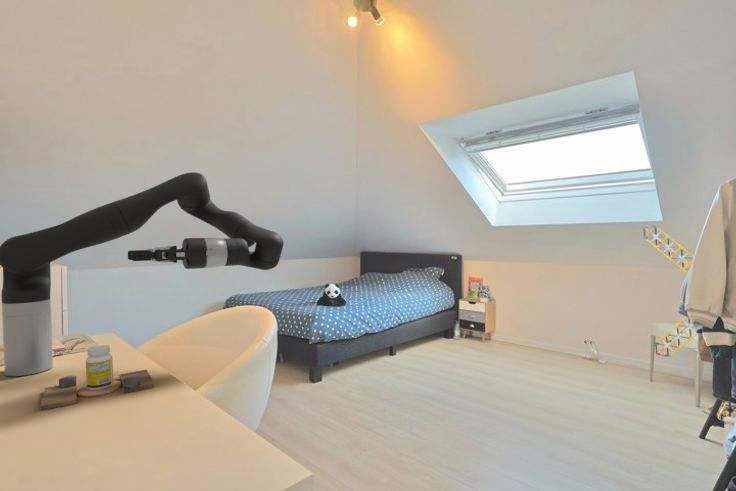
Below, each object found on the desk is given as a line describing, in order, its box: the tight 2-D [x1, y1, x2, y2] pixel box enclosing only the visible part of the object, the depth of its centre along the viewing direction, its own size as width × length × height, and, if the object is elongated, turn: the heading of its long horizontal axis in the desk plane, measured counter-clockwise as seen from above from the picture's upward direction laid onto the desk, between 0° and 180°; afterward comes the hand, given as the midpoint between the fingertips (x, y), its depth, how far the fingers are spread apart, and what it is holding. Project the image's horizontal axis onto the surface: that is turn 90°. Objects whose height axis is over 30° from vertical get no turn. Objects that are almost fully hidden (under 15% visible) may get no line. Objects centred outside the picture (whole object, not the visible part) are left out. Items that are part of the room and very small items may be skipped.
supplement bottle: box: [85, 344, 114, 390], centre depth 87 cm, size 5×5×8 cm
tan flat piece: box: [39, 369, 155, 411], centre depth 87 cm, size 12×19×2 cm, turn 125°
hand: (129, 255), depth 93 cm, fingers open, 8 cm apart
